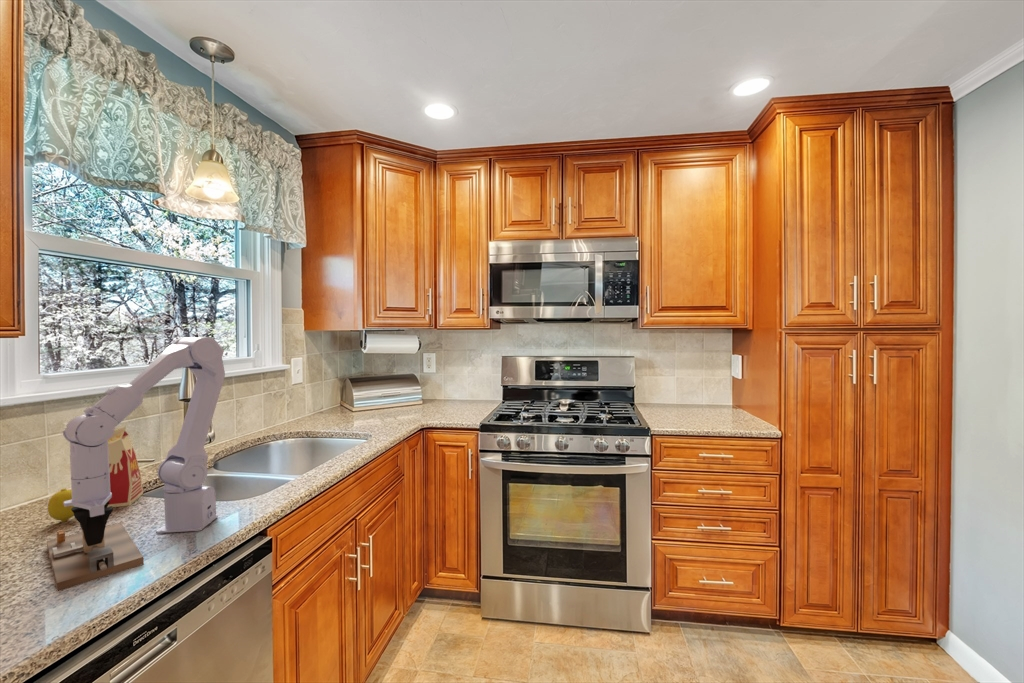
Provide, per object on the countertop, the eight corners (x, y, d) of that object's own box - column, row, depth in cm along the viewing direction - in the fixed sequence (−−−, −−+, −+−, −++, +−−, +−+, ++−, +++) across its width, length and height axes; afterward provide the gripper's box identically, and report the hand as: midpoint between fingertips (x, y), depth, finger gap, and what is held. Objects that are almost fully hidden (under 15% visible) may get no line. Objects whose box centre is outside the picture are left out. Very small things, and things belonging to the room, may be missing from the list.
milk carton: (143, 493, 128) (140, 422, 127) (131, 505, 120) (128, 429, 119) (101, 498, 124) (98, 425, 124) (86, 511, 116) (83, 432, 115)
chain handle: (52, 551, 92) (51, 525, 91) (100, 538, 97) (99, 514, 97) (61, 584, 79) (60, 555, 79) (114, 568, 85) (113, 540, 85)
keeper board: (47, 548, 97) (46, 528, 96) (121, 528, 105) (120, 511, 105) (57, 591, 81) (56, 568, 80) (143, 564, 90) (142, 543, 89)
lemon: (60, 527, 106) (59, 493, 106) (42, 525, 108) (40, 492, 107) (87, 517, 112) (85, 485, 112) (69, 516, 113) (67, 484, 113)
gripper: (59, 472, 94) (62, 537, 94) (66, 488, 84) (70, 561, 85) (104, 464, 99) (107, 526, 99) (117, 478, 89) (119, 547, 90)
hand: (93, 541), depth 92 cm, fingers closed on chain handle, 2 cm apart
